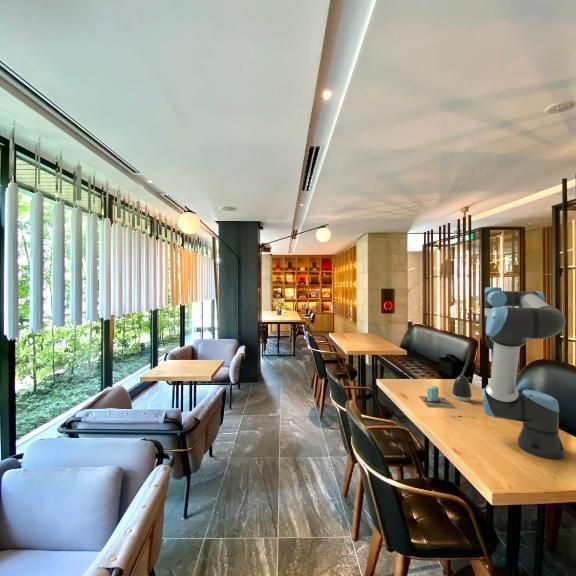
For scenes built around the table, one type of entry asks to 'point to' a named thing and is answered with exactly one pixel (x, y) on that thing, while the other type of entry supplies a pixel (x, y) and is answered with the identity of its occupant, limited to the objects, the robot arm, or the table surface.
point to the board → (442, 404)
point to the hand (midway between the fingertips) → (492, 361)
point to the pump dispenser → (462, 388)
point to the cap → (432, 393)
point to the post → (432, 401)
